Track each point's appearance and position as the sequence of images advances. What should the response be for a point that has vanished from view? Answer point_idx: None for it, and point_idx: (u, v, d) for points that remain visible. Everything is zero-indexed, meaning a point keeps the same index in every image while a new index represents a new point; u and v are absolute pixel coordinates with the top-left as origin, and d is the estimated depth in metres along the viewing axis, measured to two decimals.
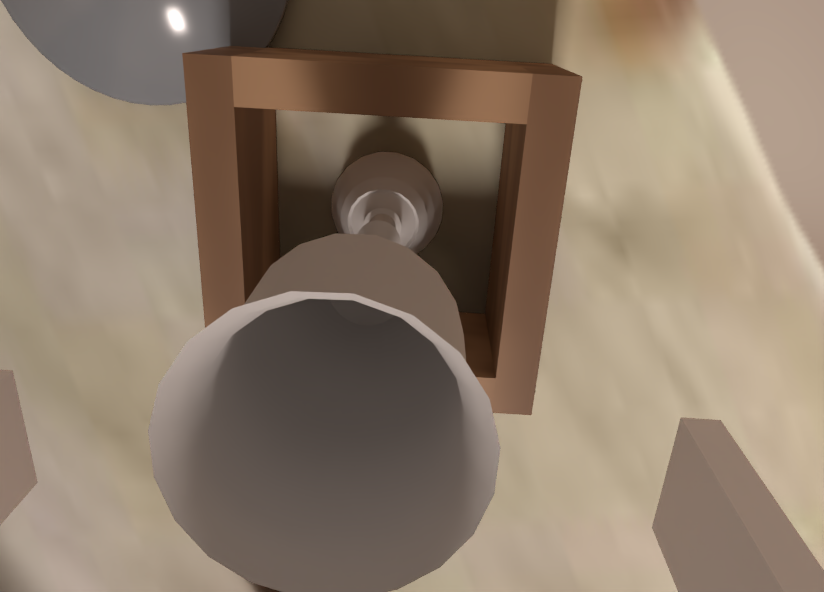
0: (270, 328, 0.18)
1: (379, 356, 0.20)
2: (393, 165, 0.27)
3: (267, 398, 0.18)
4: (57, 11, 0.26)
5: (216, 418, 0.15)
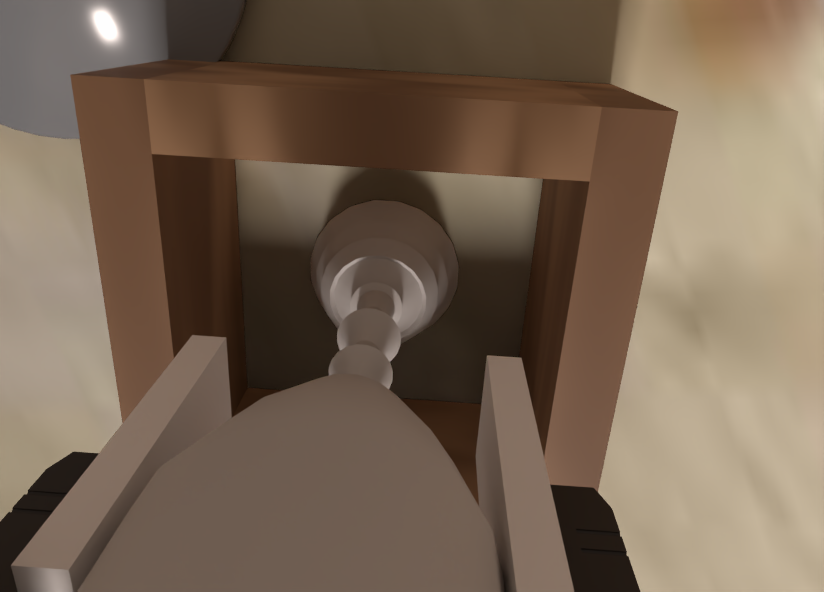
0: None
1: None
2: (392, 220, 0.20)
3: None
4: None
5: None
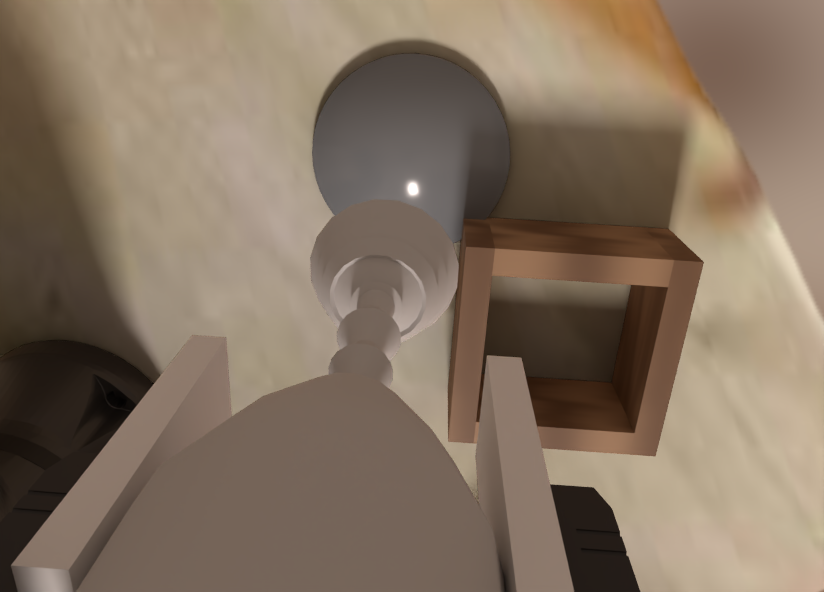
0: None
1: None
2: (392, 219, 0.20)
3: None
4: (354, 197, 0.40)
5: None
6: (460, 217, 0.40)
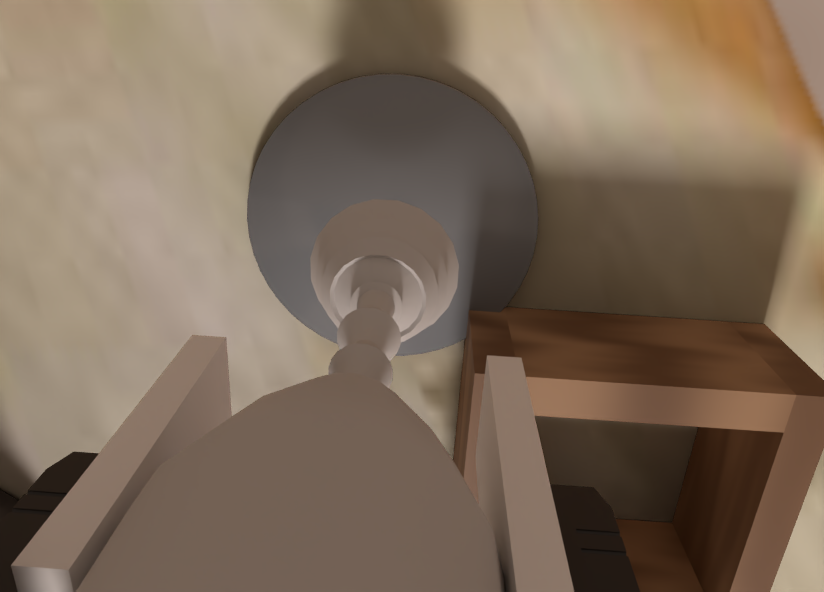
0: None
1: None
2: (392, 219, 0.20)
3: None
4: None
5: None
6: (464, 308, 0.28)
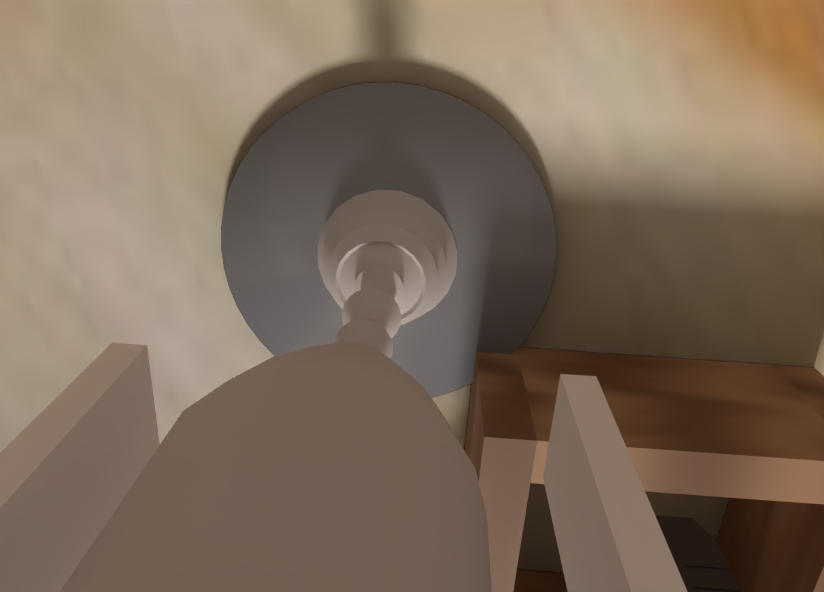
0: None
1: None
2: (394, 208, 0.22)
3: None
4: (295, 317, 0.24)
5: None
6: (471, 350, 0.24)
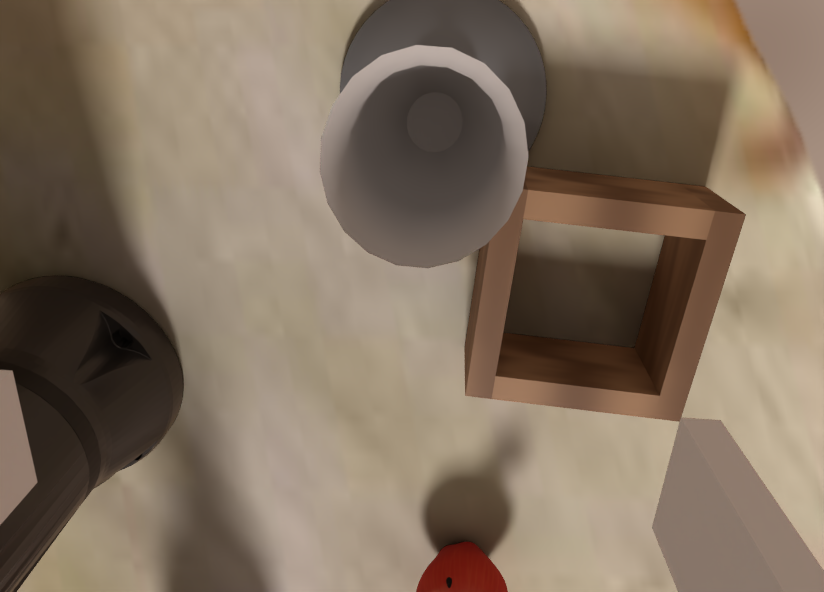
0: (372, 131, 0.27)
1: (441, 168, 0.29)
2: None
3: (369, 175, 0.26)
4: None
5: (348, 158, 0.23)
6: None
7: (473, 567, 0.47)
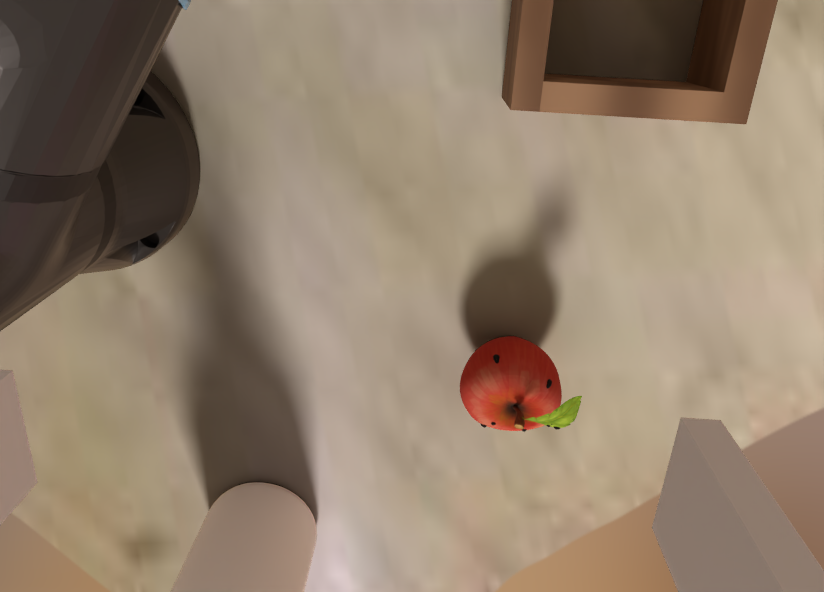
0: None
1: None
2: None
3: None
4: None
5: None
6: None
7: (521, 345, 0.44)
